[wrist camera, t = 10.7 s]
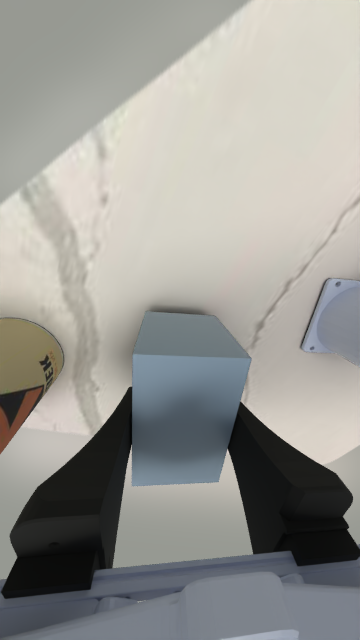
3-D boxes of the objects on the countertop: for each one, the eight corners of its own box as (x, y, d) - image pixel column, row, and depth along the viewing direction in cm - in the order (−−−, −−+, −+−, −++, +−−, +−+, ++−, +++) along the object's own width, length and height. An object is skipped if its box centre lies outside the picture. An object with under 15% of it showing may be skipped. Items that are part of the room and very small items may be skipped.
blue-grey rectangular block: (215, 315, 15) (251, 358, 9) (199, 405, 18) (218, 482, 12) (145, 311, 14) (132, 354, 8) (142, 405, 18) (131, 486, 11)
